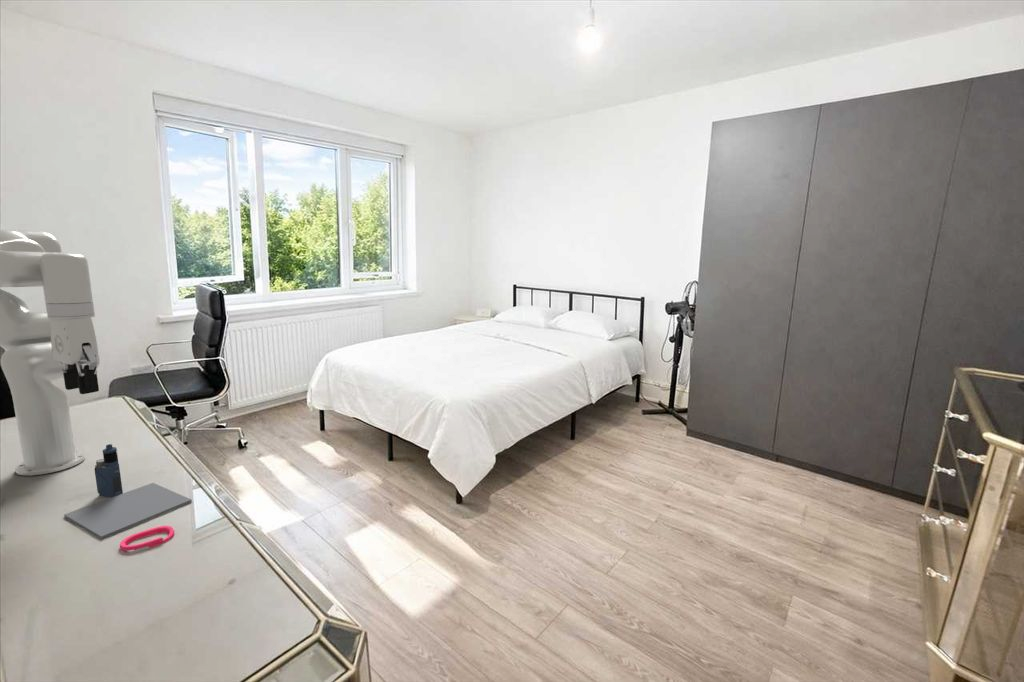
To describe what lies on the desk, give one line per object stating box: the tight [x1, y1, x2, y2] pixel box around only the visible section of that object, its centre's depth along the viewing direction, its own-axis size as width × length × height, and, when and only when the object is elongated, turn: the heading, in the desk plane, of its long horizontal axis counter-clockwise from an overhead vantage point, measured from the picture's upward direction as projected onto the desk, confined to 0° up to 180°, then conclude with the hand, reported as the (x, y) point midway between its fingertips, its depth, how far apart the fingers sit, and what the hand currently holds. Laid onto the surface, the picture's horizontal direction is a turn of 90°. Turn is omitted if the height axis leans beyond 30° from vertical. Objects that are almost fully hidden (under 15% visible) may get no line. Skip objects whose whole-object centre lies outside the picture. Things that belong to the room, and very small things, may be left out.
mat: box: [63, 482, 193, 540], centre depth 98 cm, size 16×16×1 cm
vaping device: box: [94, 443, 124, 499], centre depth 103 cm, size 3×5×12 cm, turn 78°
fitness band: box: [119, 525, 175, 553], centre depth 88 cm, size 8×6×2 cm
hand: (82, 389), depth 104 cm, fingers open, 6 cm apart
